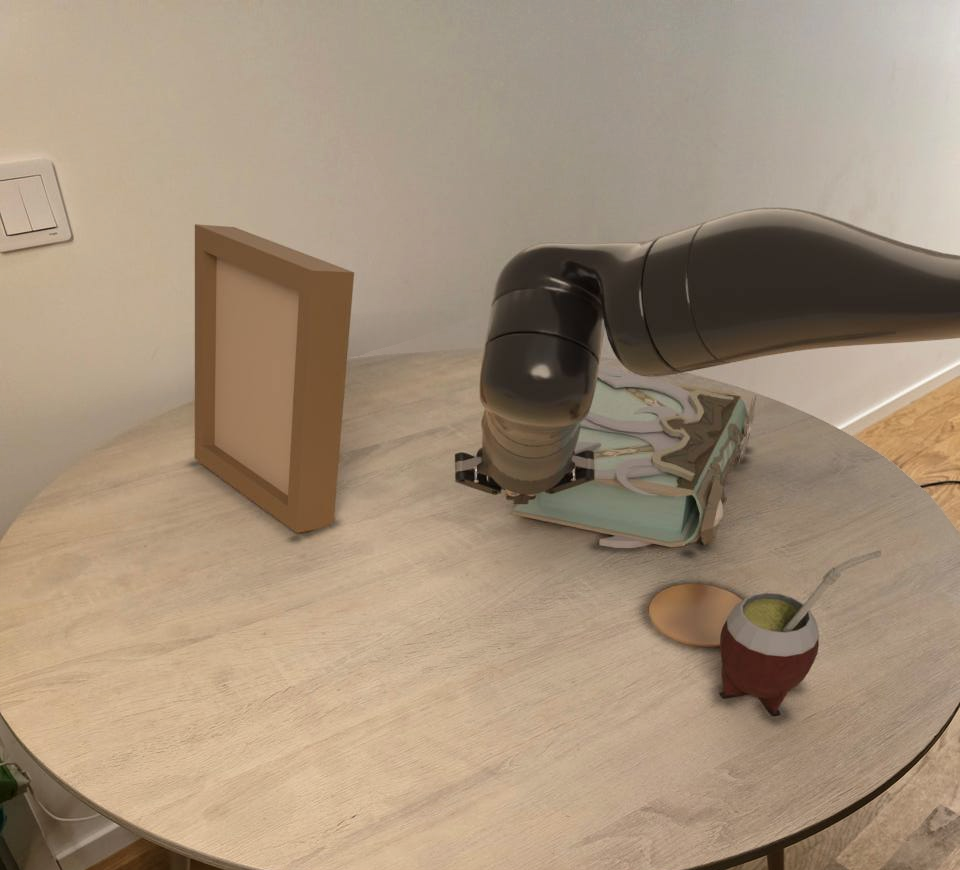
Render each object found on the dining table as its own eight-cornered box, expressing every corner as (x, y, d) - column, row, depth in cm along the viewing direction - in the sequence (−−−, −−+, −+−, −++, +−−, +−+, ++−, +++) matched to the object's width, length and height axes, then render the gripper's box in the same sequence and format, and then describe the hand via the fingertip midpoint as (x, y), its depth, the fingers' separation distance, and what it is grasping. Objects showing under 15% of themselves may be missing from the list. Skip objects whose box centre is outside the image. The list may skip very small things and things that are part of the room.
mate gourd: (697, 672, 73) (725, 512, 63) (785, 656, 74) (826, 497, 65) (738, 734, 67) (775, 569, 58) (833, 717, 68) (885, 552, 59)
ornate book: (705, 583, 84) (761, 440, 105) (720, 494, 78) (776, 361, 99) (485, 535, 91) (578, 411, 112) (482, 451, 85) (582, 335, 106)
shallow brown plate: (739, 588, 82) (740, 582, 82) (764, 649, 75) (765, 644, 75) (641, 589, 82) (641, 584, 82) (657, 651, 75) (657, 646, 75)
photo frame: (297, 541, 90) (254, 284, 74) (196, 466, 103) (141, 234, 87) (414, 492, 97) (397, 249, 81) (306, 428, 110) (274, 208, 94)
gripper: (446, 481, 70) (453, 533, 87) (615, 478, 70) (589, 530, 87) (445, 389, 71) (452, 458, 88) (612, 386, 71) (586, 456, 88)
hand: (520, 494), depth 88 cm, fingers closed
